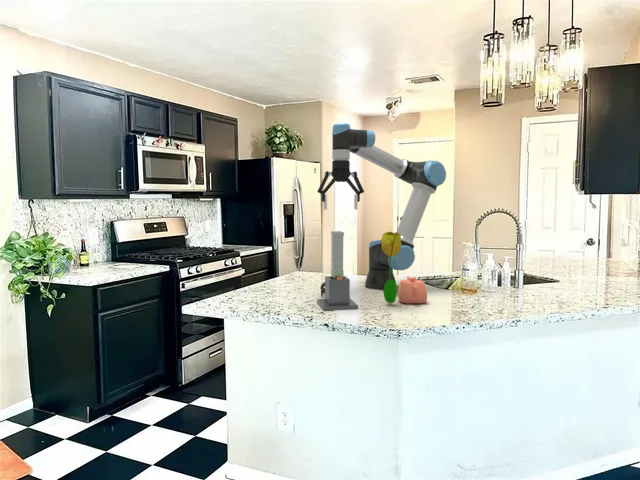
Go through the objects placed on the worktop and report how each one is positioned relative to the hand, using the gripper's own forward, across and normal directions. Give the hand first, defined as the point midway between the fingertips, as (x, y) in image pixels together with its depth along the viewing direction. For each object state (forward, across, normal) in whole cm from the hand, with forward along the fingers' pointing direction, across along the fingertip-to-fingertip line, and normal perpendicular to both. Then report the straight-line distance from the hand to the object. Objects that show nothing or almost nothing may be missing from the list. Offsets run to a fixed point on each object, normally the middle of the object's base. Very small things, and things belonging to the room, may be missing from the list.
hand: (340, 209), depth 209 cm
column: (+29, +5, +16) cm, 33 cm away
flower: (+39, -17, +18) cm, 46 cm away
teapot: (+39, -28, +14) cm, 50 cm away
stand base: (+39, +5, +16) cm, 42 cm away
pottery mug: (+39, +3, -5) cm, 39 cm away
